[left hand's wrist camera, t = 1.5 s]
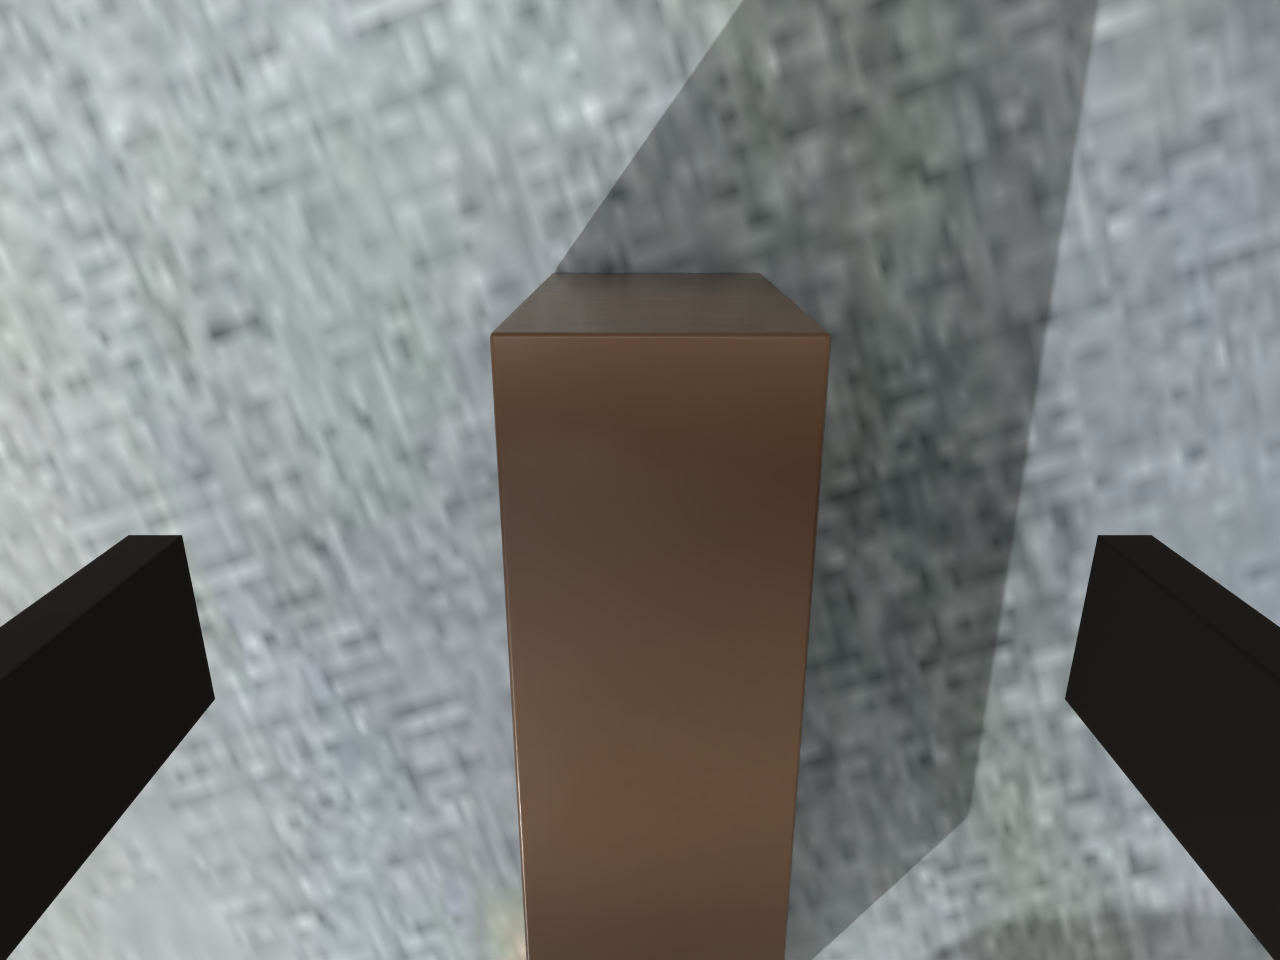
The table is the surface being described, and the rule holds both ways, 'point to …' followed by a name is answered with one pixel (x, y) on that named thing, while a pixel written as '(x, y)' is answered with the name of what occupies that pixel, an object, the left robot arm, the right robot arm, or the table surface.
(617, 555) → the bar
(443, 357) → the table surface
